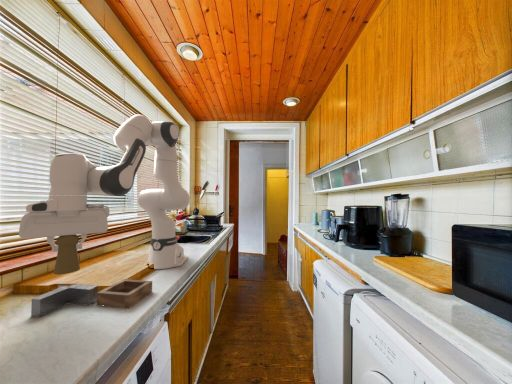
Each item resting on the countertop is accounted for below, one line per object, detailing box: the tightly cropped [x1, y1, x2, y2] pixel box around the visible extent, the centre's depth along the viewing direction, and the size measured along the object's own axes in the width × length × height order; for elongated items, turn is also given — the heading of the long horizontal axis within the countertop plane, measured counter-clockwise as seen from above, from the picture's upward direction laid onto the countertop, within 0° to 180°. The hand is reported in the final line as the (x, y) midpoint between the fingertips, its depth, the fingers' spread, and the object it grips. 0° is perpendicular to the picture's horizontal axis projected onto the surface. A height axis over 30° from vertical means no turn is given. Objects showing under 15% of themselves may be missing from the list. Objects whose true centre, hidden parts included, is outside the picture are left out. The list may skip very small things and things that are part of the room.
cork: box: [53, 235, 81, 275], centre depth 65 cm, size 6×6×11 cm
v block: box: [30, 283, 99, 318], centre depth 68 cm, size 8×16×5 cm, turn 126°
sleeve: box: [95, 278, 153, 309], centre depth 73 cm, size 12×12×4 cm
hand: (67, 250), depth 65 cm, fingers closed on cork, 4 cm apart
